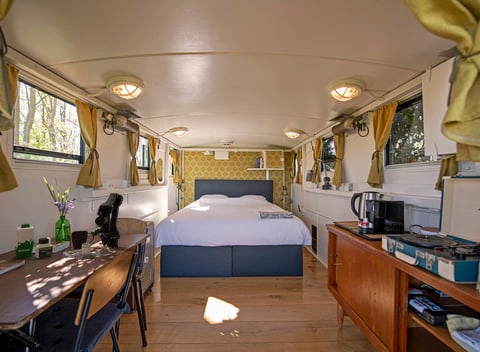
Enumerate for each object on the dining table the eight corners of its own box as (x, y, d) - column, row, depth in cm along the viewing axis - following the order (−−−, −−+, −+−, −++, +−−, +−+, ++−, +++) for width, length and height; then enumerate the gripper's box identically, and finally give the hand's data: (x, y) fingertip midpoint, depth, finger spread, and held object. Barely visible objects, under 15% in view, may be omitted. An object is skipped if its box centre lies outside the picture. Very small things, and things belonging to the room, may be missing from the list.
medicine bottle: (38, 259, 145) (39, 239, 145) (35, 257, 149) (36, 238, 150) (52, 256, 151) (53, 237, 151) (49, 254, 155) (50, 236, 155)
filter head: (105, 251, 163) (105, 247, 163) (112, 254, 158) (112, 249, 158) (75, 258, 148) (75, 253, 149) (82, 261, 143) (82, 256, 143)
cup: (72, 247, 172) (73, 231, 173) (94, 245, 178) (95, 229, 178) (68, 251, 163) (69, 233, 164) (92, 249, 169) (92, 232, 169)
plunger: (105, 250, 161) (105, 246, 161) (108, 251, 158) (108, 246, 159) (100, 251, 158) (100, 247, 158) (102, 252, 155) (102, 248, 156)
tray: (80, 252, 160) (80, 249, 160) (87, 255, 155) (87, 251, 155) (63, 256, 152) (63, 252, 152) (69, 259, 146) (69, 255, 146)
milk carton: (33, 253, 157) (34, 223, 158) (33, 256, 151) (34, 224, 151) (14, 255, 152) (16, 224, 152) (14, 259, 145) (15, 226, 146)
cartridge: (88, 254, 152) (88, 242, 153) (91, 256, 150) (92, 243, 150) (80, 256, 148) (80, 243, 149) (83, 258, 146) (83, 244, 146)
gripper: (85, 222, 157) (84, 246, 157) (99, 226, 147) (98, 251, 146) (103, 221, 167) (102, 243, 166) (116, 223, 156) (116, 247, 155)
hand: (104, 246), depth 158 cm, fingers closed
